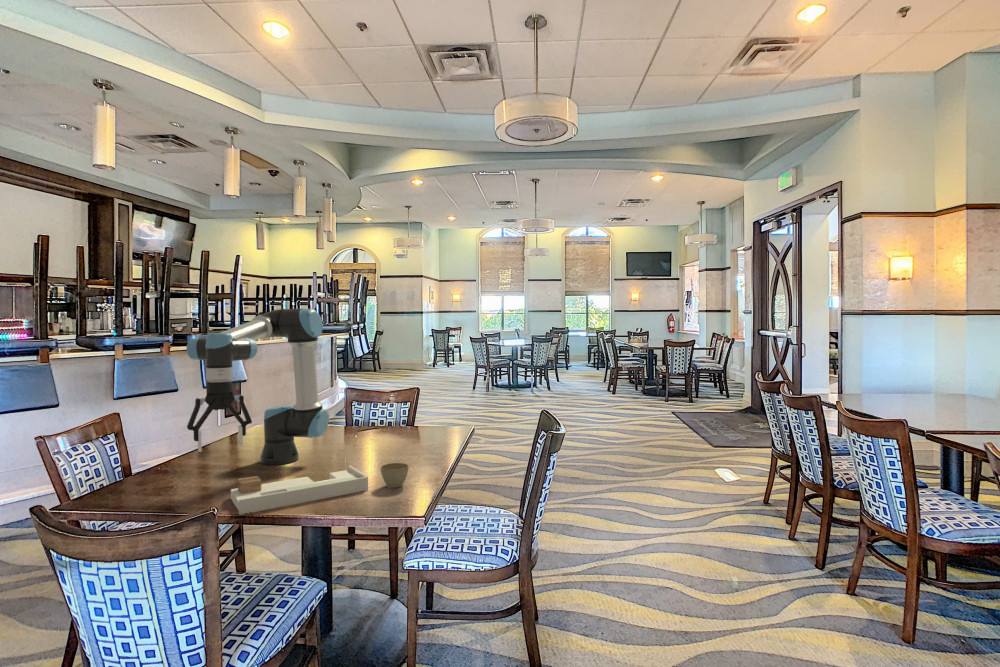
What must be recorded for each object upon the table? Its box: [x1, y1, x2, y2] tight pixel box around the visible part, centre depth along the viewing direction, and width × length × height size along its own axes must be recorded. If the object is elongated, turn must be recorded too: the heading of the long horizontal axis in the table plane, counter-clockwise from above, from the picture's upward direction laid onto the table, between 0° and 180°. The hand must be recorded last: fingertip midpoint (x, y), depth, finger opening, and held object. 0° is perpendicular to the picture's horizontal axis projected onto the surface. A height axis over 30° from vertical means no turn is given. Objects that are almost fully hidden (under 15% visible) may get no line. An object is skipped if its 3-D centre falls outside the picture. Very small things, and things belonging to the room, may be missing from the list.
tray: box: [230, 465, 369, 516], centre depth 181 cm, size 19×41×4 cm, turn 125°
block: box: [237, 475, 262, 494], centre depth 176 cm, size 6×6×4 cm
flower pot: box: [380, 462, 410, 489], centre depth 190 cm, size 10×10×7 cm
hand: (220, 448), depth 171 cm, fingers open, 11 cm apart
